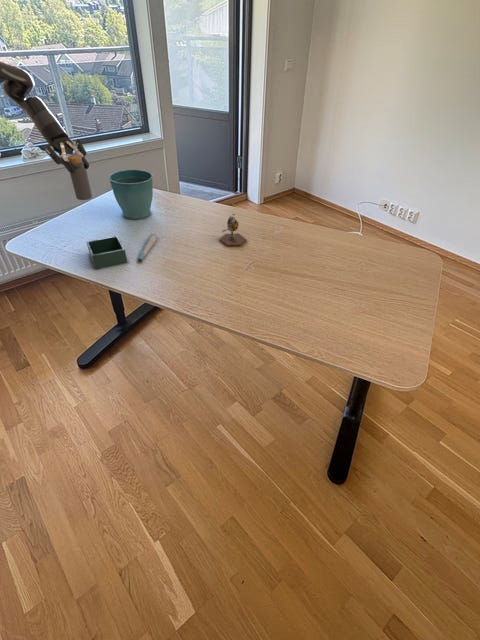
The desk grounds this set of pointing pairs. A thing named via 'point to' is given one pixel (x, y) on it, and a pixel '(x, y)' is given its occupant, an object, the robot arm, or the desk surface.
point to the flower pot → (133, 192)
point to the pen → (148, 246)
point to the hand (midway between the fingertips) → (80, 169)
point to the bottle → (80, 178)
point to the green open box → (107, 252)
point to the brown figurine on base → (232, 238)
